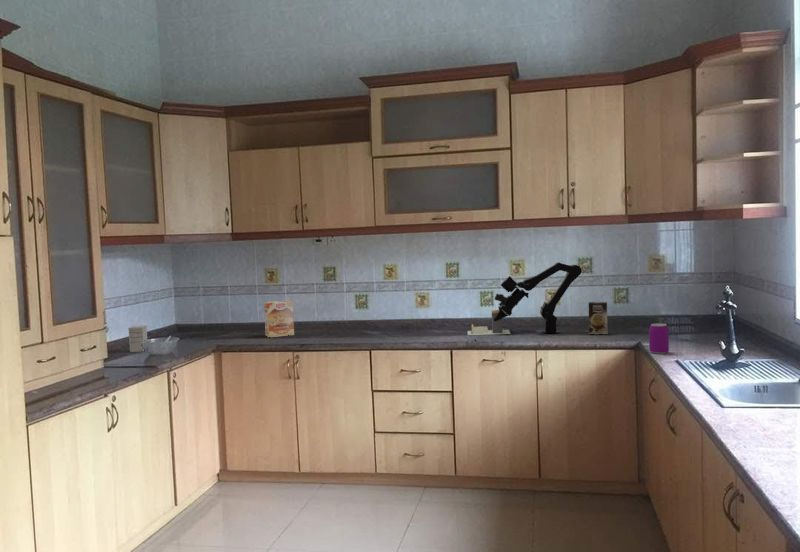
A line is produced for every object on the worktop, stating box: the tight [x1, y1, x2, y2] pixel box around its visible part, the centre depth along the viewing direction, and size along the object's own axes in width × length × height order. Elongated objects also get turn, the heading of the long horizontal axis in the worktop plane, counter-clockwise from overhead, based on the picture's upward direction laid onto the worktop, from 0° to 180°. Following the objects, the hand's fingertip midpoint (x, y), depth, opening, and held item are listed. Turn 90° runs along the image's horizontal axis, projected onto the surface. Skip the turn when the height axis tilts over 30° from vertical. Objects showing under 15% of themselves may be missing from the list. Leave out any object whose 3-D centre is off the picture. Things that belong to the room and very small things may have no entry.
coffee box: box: [588, 301, 608, 335], centre depth 349 cm, size 9×6×16 cm
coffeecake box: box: [263, 299, 295, 338], centre depth 390 cm, size 15×7×20 cm, turn 118°
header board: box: [467, 324, 511, 336], centre depth 362 cm, size 22×14×5 cm, turn 85°
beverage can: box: [648, 323, 670, 355], centre depth 293 cm, size 8×8×12 cm
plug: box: [491, 309, 503, 332], centre depth 361 cm, size 5×4×11 cm
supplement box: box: [127, 324, 148, 353], centre depth 357 cm, size 7×7×13 cm
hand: (494, 320), depth 361 cm, fingers closed on plug, 4 cm apart
